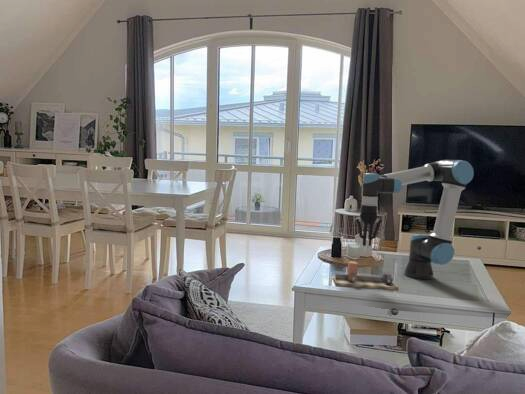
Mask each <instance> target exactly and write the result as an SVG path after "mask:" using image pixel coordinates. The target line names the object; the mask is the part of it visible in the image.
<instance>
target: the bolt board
mask: <svg viewBox="0 0 525 394" xmlns="http://www.w3.org/2000/svg"><path fill="white" fill-rule="evenodd" d="M331 277H332V282H333V283H334V285H335V286H337V287H338V286H339V287H340V286H342V287H352V288H353V287H354V288H367V289H380V290H382V289H383V290H393V291H394V290H395V291H398V290H399V287H398V285H397V284H396V283H395V282H394V280H393V281H392V283H389V284H387V283H382V282H369V281H356V280H355V281H352V280H342V279H335V276H331Z"/></svg>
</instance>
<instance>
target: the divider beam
mask: <svg viewBox="0 0 525 394" xmlns="http://www.w3.org/2000/svg"><path fill="white" fill-rule="evenodd" d="M334 277H335V279H342V280H348V274H347V273H335V276H334ZM356 281H369V282H382V283H387V284H389V283H392V281H393V282H394V279H393V277H392V274H391V273H390V272H381V275H380V276H378V275H366V274H365V275H363V274H357V280H356Z"/></svg>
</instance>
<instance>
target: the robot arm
mask: <svg viewBox="0 0 525 394" xmlns="http://www.w3.org/2000/svg"><path fill="white" fill-rule="evenodd" d="M474 174H475V172H474V167H473V166H472V164H471V163H470V162H468V161H467V160H462V159H441V160H438V161H433V162H429V163H425V164H424V165H423V166H419V167H414V168H410V169H406V170H401V171H400V170H399V171H396V172H391V173H386V174H385V173H384V174H381V175H380V174H379V173H375V172H374V173H373V172H372V173H371V172H370V173H369V172H366V173H364V174H363V180H362V190H361V191H362V193H361V194H362V195H361V207H360V208H361V209H360V211H361V212H360V215H359V216H358V217H355V218H354V220H355V222H356V224H357V225H356V226H357V231H358V235H359V237H360V239H362V246H364V248H363V249H364V251H363V252H364V254H369V250H370V249H369V248H370V246H371V245H372V240H373V239H376V237H377V233H378V230H379V227H380V224H381V223H382V222H383V220H382V219H380V218H379V217H378V215H377V214H378V213H377V212H378V200H379V194H399V193H401V191H402V189H403V188H402V186H405V185H411V184H415V183H421V182H425V181H427V182H433V181H436V182H441V185H442V187H443V190H442V195H441V198H440V202H439V207H438V210H437V214H436V218H435V223H434V226H433V231H432V232H431V233H430V234H421V233H420V234H419V233H418V234H417V233H416V234H415V233H414V234H412V235H411V236H410V245H409V255H408V262H407V264H406V266H405V268H404V271H403V272H404V273H403V274H404V275H405V276H406V277H409V278H413V279H418V280H432V279H433V278H434V270H433V266H432V263H433V264H435V265H440V266H442V265H447V264H448V263H449V262H451V261H452V259H453V258H454V256H455V248H454V246H453V245H452V244H453V238H452V237H451V234H452V231H453V226H454V222H455V219H456V213H457V210H458V206H459V201H460V197H461V193H462V192H463V190H466V187H467V184H469V183H470V182H471V181H472V180H473V178H474V176H475V175H474ZM361 221H362V223H363V231H362V225H361ZM374 223H375V225H374ZM373 225H374V226H373ZM373 227H374V228H373ZM367 231H368V233H367Z"/></svg>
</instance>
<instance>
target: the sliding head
mask: <svg viewBox="0 0 525 394" xmlns="http://www.w3.org/2000/svg"><path fill="white" fill-rule="evenodd" d="M358 266H359V264H358V262H357V261H350V260H348V261H347V270H346V271H347V272H346V274H348V280H352V281H355V280H357V275H358Z"/></svg>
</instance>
